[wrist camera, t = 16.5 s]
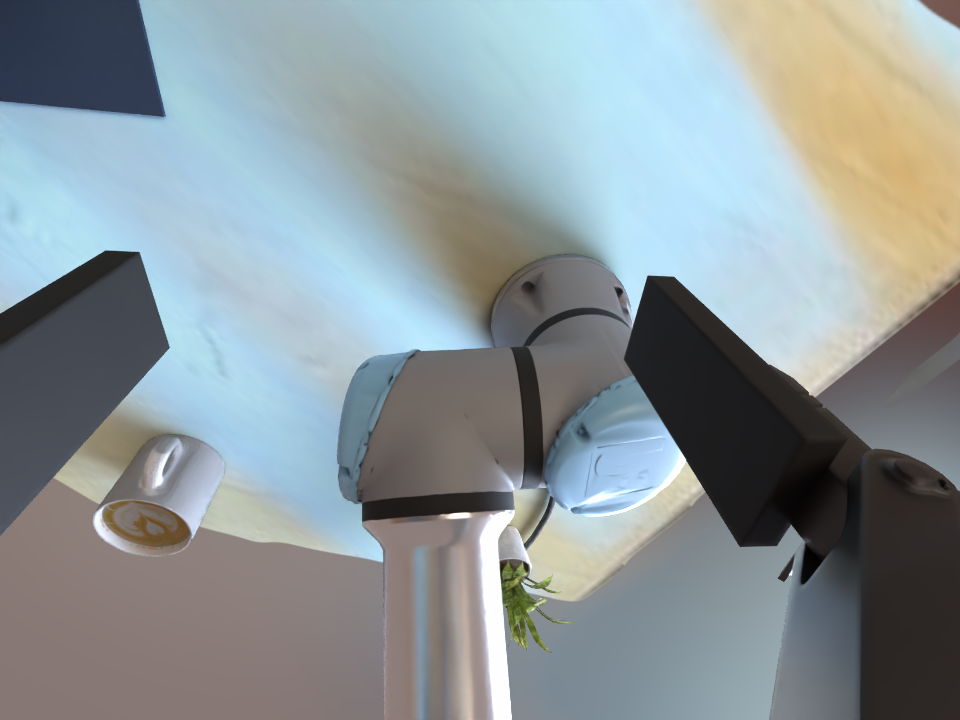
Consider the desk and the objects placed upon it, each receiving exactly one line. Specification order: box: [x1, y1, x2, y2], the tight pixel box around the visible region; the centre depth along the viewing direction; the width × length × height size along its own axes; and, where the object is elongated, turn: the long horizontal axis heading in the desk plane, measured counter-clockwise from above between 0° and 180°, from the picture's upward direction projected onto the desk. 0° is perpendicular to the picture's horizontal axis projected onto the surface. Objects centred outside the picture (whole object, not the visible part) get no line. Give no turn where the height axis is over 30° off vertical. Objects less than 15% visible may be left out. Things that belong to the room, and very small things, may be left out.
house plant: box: [497, 525, 572, 653], centre depth 68 cm, size 14×14×16 cm
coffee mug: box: [92, 435, 225, 557], centre depth 56 cm, size 13×10×10 cm
